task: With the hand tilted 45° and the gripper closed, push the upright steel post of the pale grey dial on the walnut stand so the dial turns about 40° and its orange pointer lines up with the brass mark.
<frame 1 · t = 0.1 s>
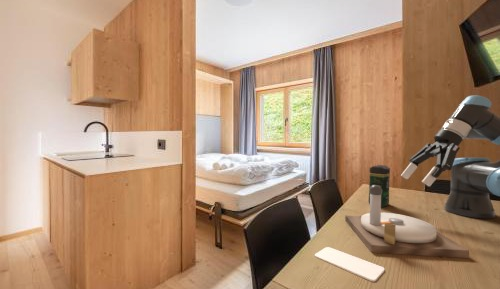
hand: (413, 180, 85), 15 cm above the table, tool tilted 35°, fingers open, 13 cm apart
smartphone: (347, 264, 57), on the table
stand: (395, 235, 72), on the table
dial: (396, 206, 72), point 9 cm above the table, hinge at -40.0°
coffee jar: (379, 204, 107), on the table
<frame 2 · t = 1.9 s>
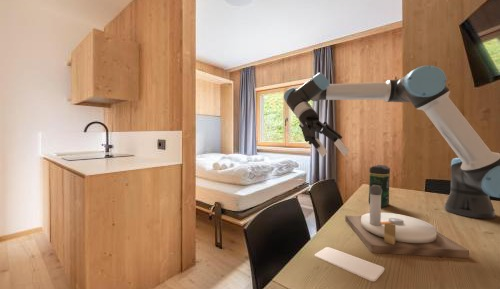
hand: (336, 153, 83), 25 cm above the table, tool tilted 45°, fingers open, 11 cm apart
nothing on the table moved.
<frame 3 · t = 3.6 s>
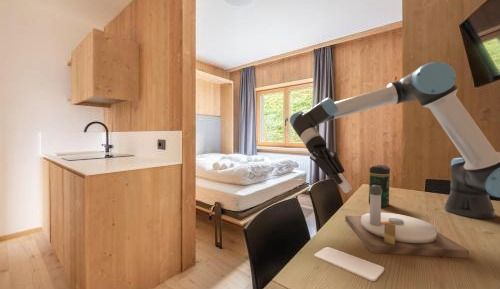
hand: (348, 190, 78), 13 cm above the table, tool tilted 45°, fingers closed
nothing on the table moved.
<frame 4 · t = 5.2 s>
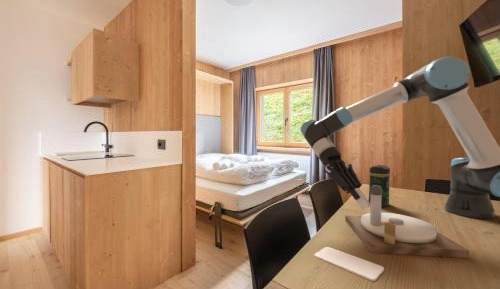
hand: (366, 207, 73), 9 cm above the table, tool tilted 45°, fingers closed
dial: (396, 206, 72), point 9 cm above the table, hinge at -38.6°, touching gripper
everything else where it was.
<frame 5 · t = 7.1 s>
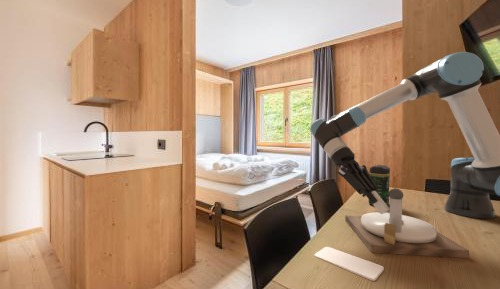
hand: (385, 211, 68), 9 cm above the table, tool tilted 45°, fingers closed
dial: (396, 206, 72), point 9 cm above the table, hinge at 6.0°
everything else where it was.
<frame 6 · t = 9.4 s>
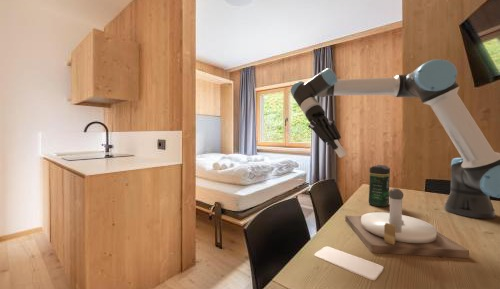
hand: (343, 155, 85), 25 cm above the table, tool tilted 40°, fingers closed
nothing on the table moved.
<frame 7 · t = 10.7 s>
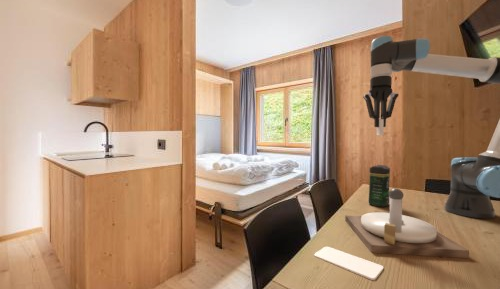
hand: (379, 135, 93), 32 cm above the table, tool pointing down, fingers closed
nothing on the table moved.
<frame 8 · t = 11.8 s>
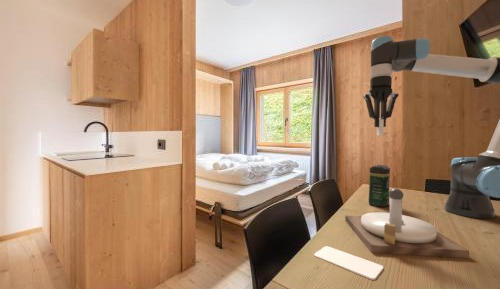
hand: (379, 135, 93), 32 cm above the table, tool pointing down, fingers closed
nothing on the table moved.
at the end: dial at +6° (first picture: -40°); coffee jar moved 0.2 cm from its start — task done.
